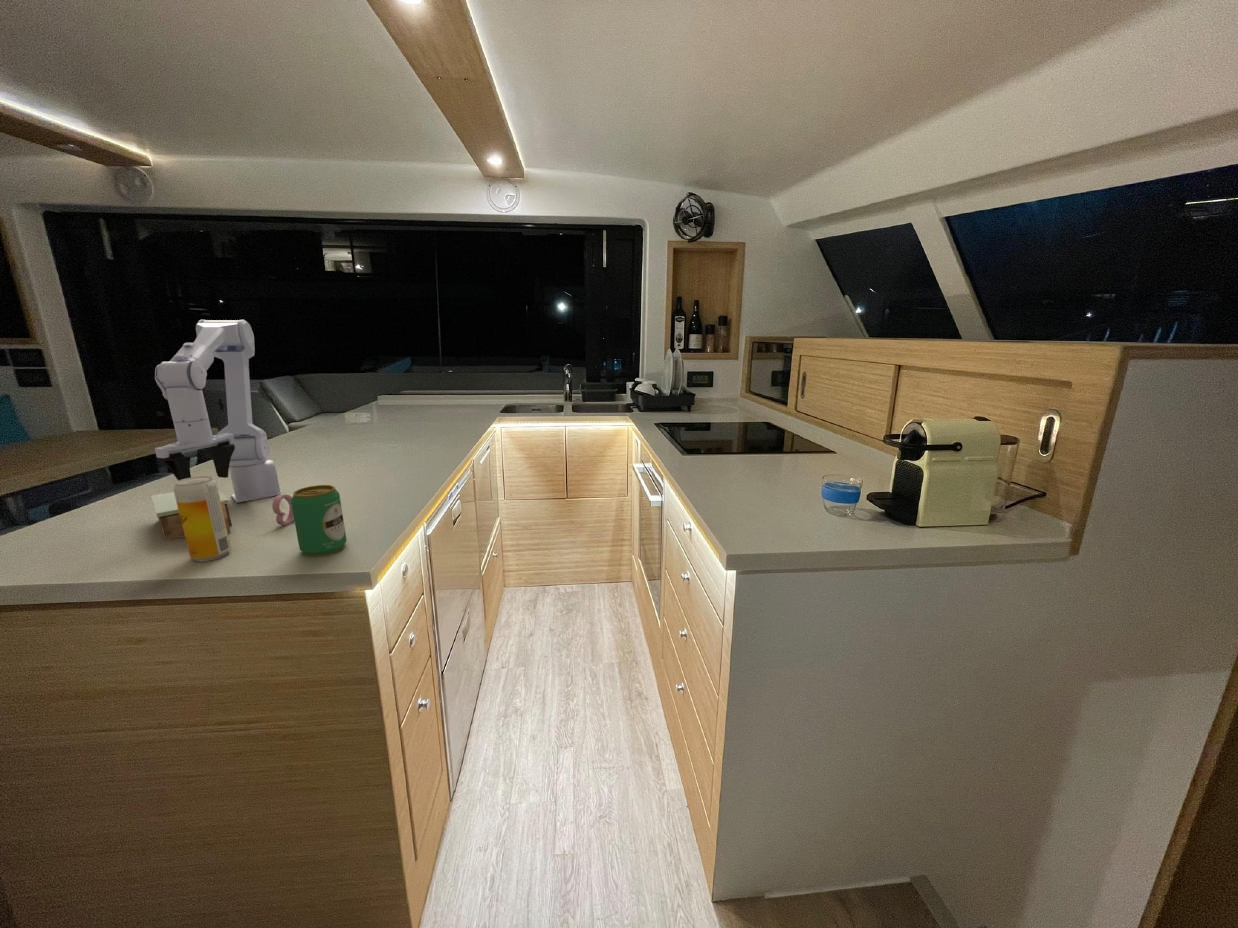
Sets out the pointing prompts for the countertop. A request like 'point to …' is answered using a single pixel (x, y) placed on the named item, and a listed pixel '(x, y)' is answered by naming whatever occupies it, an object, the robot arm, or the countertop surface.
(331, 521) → the beverage can
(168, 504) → the lid
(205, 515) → the beer can
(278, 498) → the decorative key
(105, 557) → the countertop surface
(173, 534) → the wooden box
